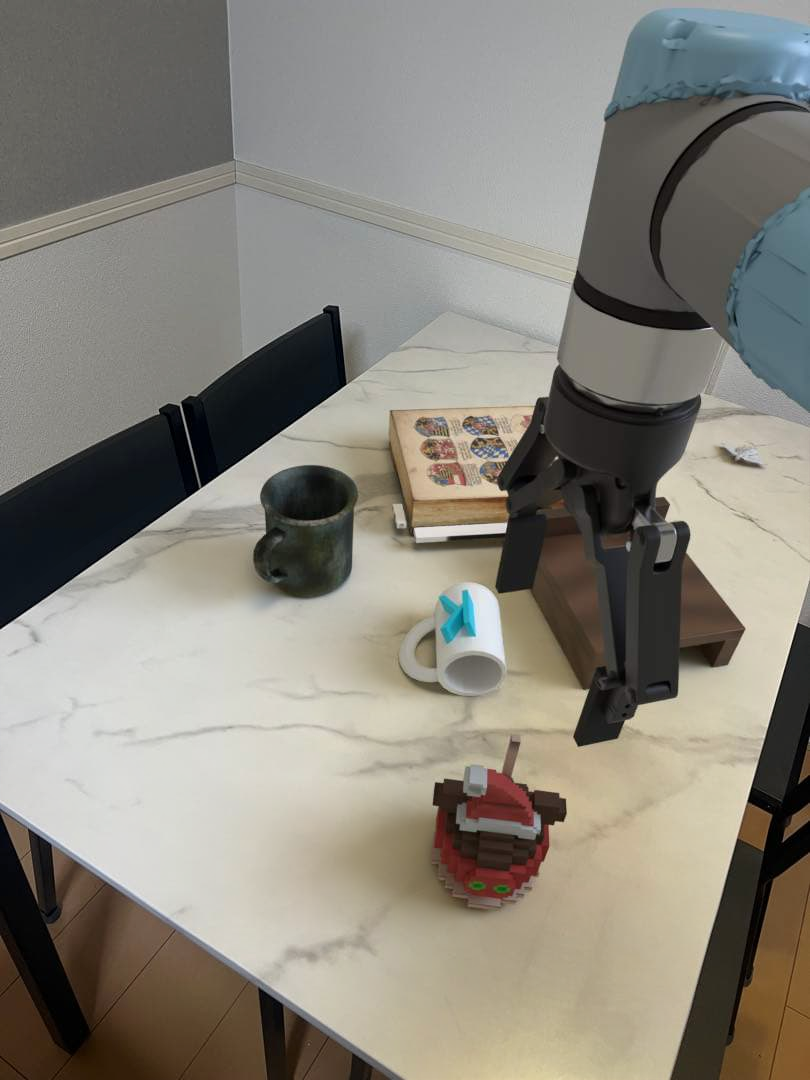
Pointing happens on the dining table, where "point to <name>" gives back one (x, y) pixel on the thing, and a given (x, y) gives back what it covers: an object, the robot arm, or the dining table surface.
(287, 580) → the mug
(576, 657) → the shelf
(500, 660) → the mug
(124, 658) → the dining table surface
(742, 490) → the dining table surface
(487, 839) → the cake
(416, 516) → the book
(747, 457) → the flower
